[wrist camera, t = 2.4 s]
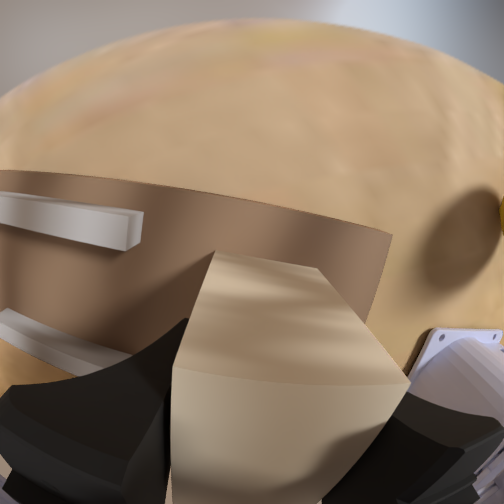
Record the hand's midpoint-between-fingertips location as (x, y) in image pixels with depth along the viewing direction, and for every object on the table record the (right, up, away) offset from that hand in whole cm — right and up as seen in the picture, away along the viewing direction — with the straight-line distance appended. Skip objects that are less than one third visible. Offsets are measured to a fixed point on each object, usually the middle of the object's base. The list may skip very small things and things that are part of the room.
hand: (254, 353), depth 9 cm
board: (-5, +2, +3) cm, 6 cm away
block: (0, 0, +2) cm, 2 cm away
